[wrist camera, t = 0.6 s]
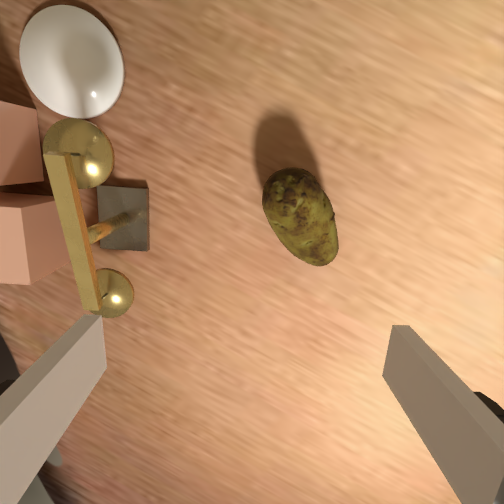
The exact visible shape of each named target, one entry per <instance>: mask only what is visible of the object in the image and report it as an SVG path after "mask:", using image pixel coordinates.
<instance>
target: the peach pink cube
mask: <svg viewBox="0 0 504 504" xmlns="http://www.w3.org/2000/svg"><path fill="white" fill-rule="evenodd" d="M69 262H71V260H70V256H69V252H68V248H67V245H66V241H65V237H64V233H63V229H62V226H61V222H60V218H59V214H58V210H57V206H56V203H55V199H54V196H44V195H31V194H19V193H6V192H2V193H0V283H8V284H23V285H31V284H33V283H35V282H37V281H38V280H40V279H42V278H43V277H45V276H47V275H49V274H50V273H52V272H54V271H55V270H57V269H59V268H61V267H62V266H64V265H66V264H67V263H69Z"/></svg>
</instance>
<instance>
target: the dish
mask: <svg viewBox="0 0 504 504" xmlns="http://www.w3.org/2000/svg"><path fill="white" fill-rule="evenodd" d="M20 62H21V68H22V71H23V74H24V77H25V79H26V81H27V83H28V85H29V87H30V88H31V90H32V91H33V93H34V94H35V95H36V96H37V98H38V99H39V100H40V101H41V102H42V103H43V104H45V105H46V106H47V107H49V108H50V109H52V110H53V111H55V112H57V113H59V114H62V115H65V116H68V117H72V118H78V119H89V118H94V117H98V116H100V115H102V114H104V113H105V112H107V111H108V110H110V109H111V108H112V107H113V106H114V104H115V103H116V102H117V100H118V99H119V97H120V95H121V93H122V90H123V86H124V81H125V64H124V59H123V55H122V52H121V49H120V47H119V45H118V43H117V41H116V39H115V38H114V36H113V35H112V33H111V32H110V31H109V30H108V28H107V27H106V26H105V25H104V24H103V23H102V22H101V21H99V20H98V19H97V18H96V17H95V16H93V15H92V14H90V13H89V12H87V11H85V10H83V9H81V8H78V7H75V6H70V5H55V6H51V7H47V8H45V9H43V10H41V11H40V12H38V13H37V14H35V15H34V16H33V17H32V18H31V19H30V21H29V22H28V24H27V25H26V27H25V29H24V31H23V34H22V37H21V42H20Z"/></svg>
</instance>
